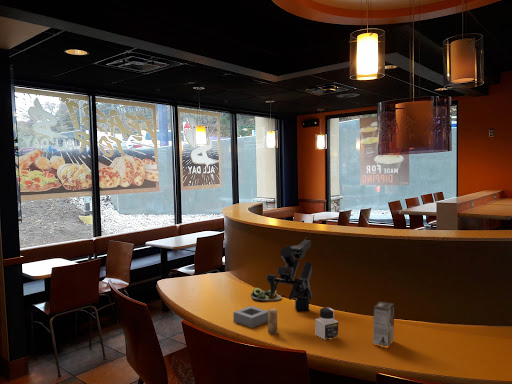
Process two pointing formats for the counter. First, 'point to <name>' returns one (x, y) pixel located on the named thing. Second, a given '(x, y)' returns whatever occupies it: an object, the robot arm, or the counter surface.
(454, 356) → the counter surface
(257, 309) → the socket block
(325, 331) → the medicine bottle
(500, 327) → the counter surface
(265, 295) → the salad plate
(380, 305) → the coffee box
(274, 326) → the oak peg
